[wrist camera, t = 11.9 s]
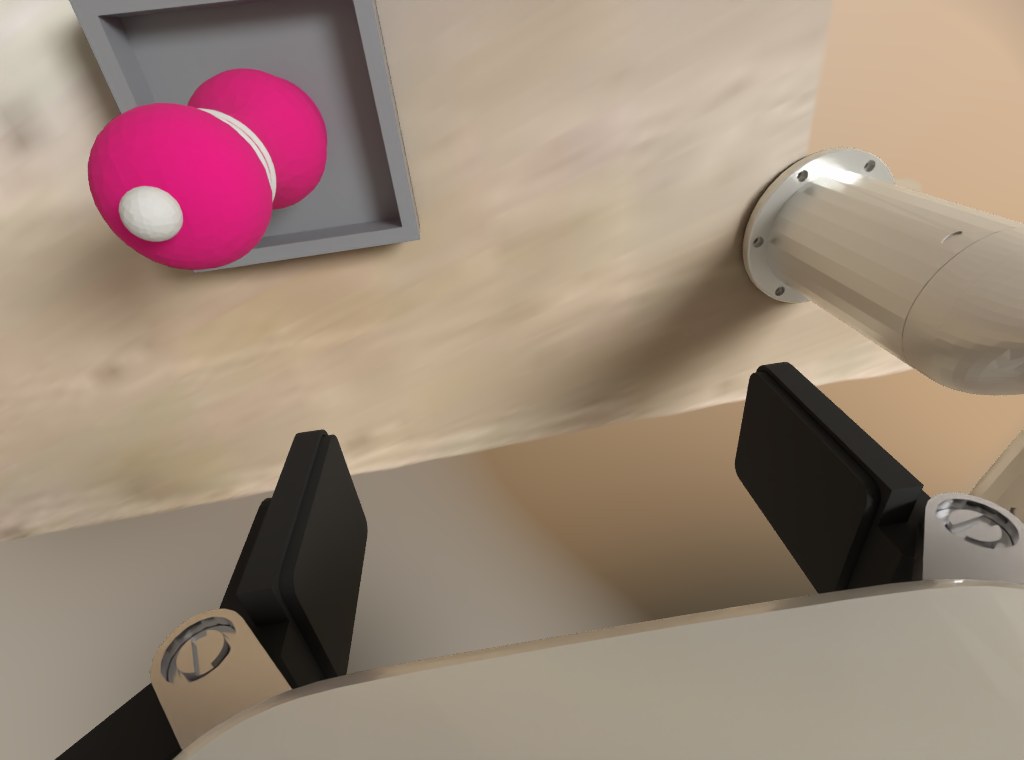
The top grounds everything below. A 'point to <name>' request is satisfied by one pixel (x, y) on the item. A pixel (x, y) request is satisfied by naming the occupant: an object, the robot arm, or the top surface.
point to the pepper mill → (208, 168)
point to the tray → (298, 59)
